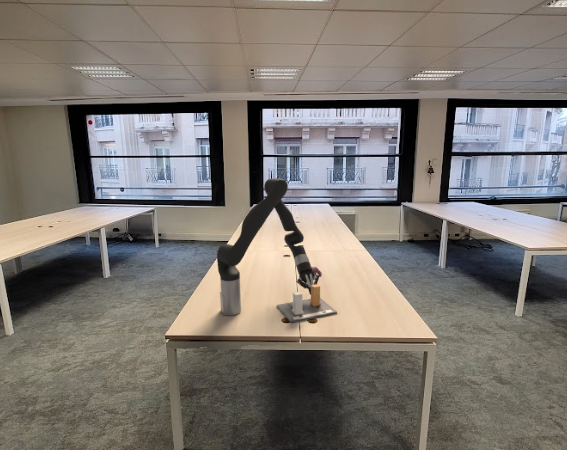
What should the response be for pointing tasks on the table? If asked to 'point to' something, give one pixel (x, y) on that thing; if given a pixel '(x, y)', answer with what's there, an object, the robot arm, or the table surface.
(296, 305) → the white slide tab
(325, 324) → the table surface
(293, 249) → the robot arm
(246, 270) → the table surface
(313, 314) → the switch panel
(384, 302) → the table surface
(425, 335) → the table surface
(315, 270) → the video game controller
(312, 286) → the orange tab
